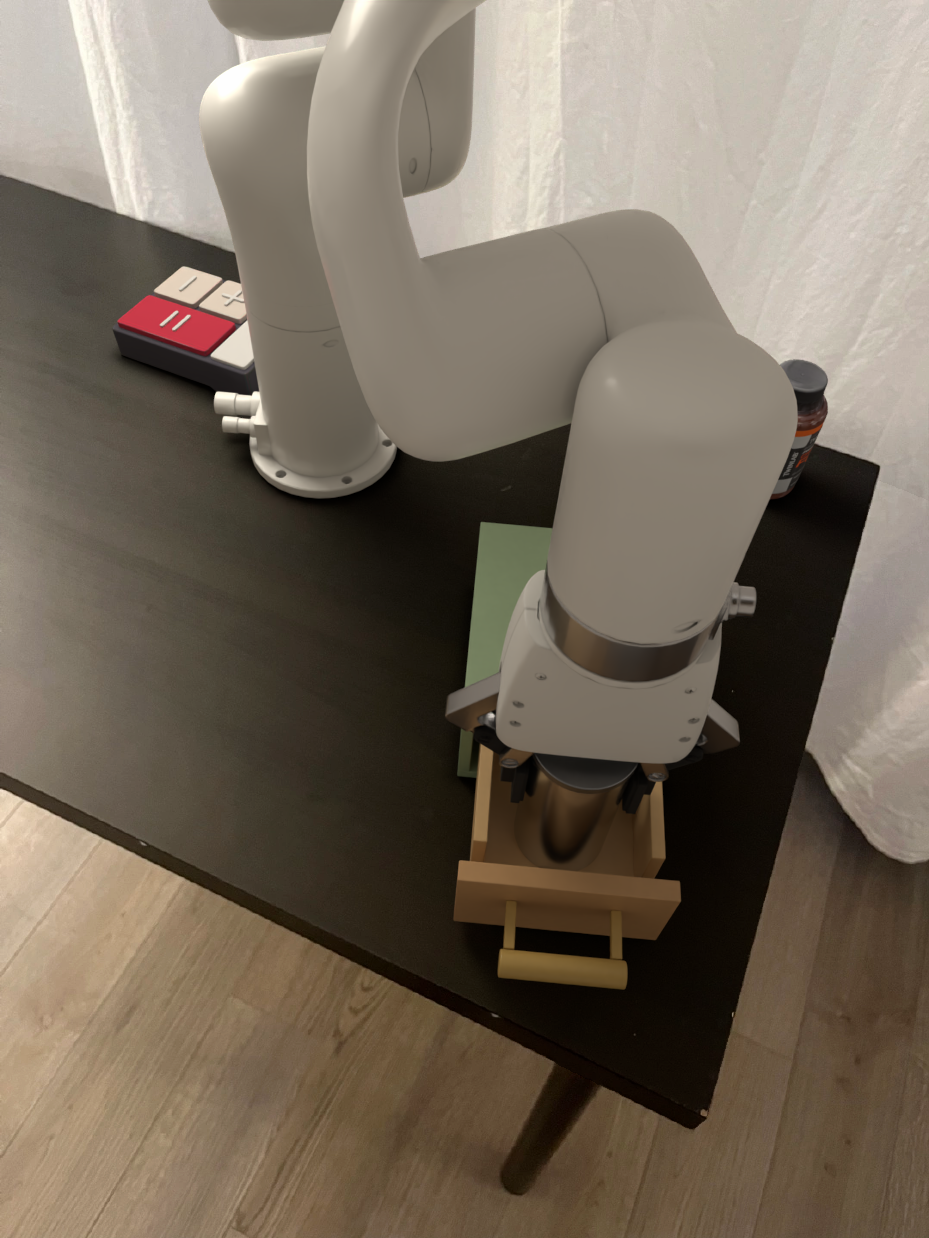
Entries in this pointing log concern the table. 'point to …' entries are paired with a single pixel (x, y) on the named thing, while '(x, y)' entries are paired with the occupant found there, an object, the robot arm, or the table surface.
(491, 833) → the drawer
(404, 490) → the table surface
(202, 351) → the calculator
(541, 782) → the metal canister
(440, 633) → the table surface
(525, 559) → the cabinet
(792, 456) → the supplement bottle
